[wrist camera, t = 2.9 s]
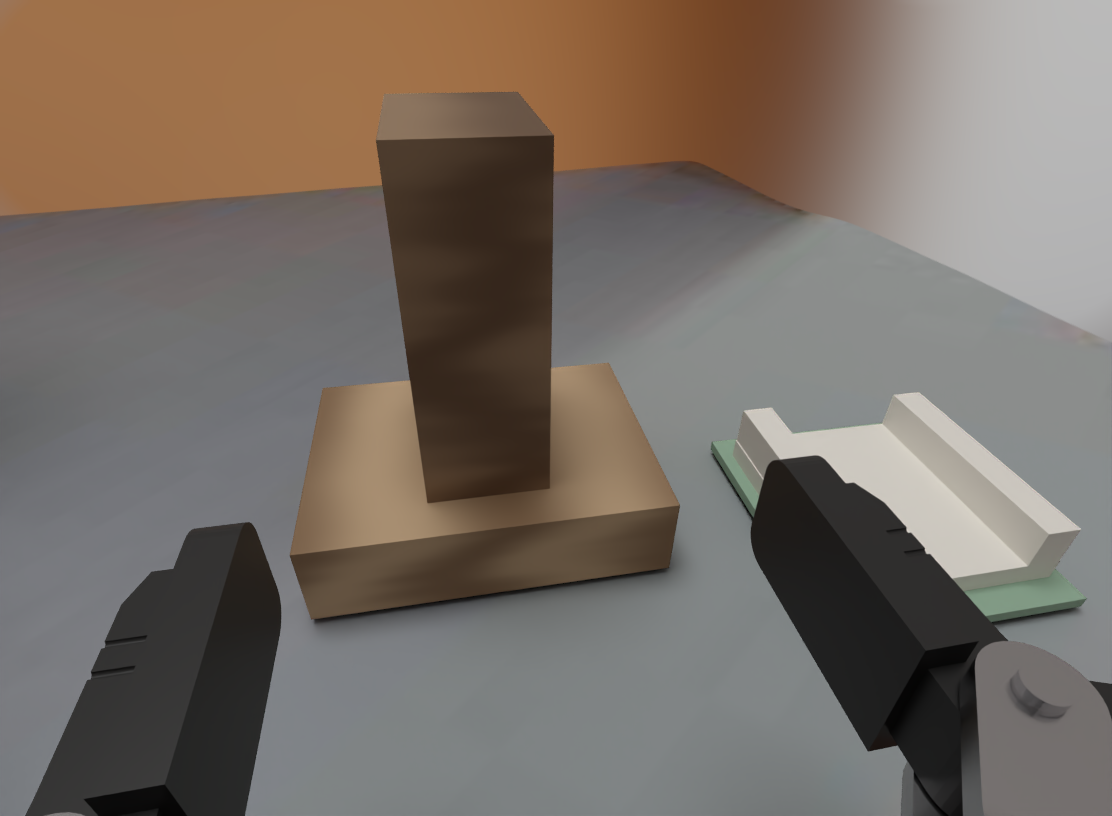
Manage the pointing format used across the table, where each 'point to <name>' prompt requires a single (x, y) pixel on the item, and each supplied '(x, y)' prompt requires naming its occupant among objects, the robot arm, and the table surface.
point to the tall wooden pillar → (473, 284)
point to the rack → (929, 488)
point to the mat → (989, 600)
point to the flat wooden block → (474, 504)
